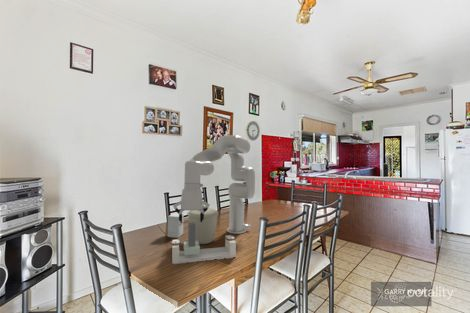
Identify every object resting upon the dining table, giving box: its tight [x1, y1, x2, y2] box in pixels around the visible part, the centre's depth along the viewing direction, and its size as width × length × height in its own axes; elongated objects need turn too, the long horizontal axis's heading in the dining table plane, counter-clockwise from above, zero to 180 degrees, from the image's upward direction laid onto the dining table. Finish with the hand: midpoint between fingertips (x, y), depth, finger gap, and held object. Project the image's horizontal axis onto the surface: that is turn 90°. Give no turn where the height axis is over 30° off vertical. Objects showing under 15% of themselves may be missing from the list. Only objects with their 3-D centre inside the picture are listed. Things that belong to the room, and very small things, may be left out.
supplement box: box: [167, 213, 185, 239], centre depth 142 cm, size 7×7×13 cm
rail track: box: [170, 235, 237, 265], centre depth 114 cm, size 32×10×8 cm, turn 105°
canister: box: [186, 204, 219, 245], centre depth 134 cm, size 18×18×21 cm
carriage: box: [183, 222, 201, 255], centre depth 112 cm, size 7×9×13 cm
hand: (191, 221), depth 112 cm, fingers open, 9 cm apart
